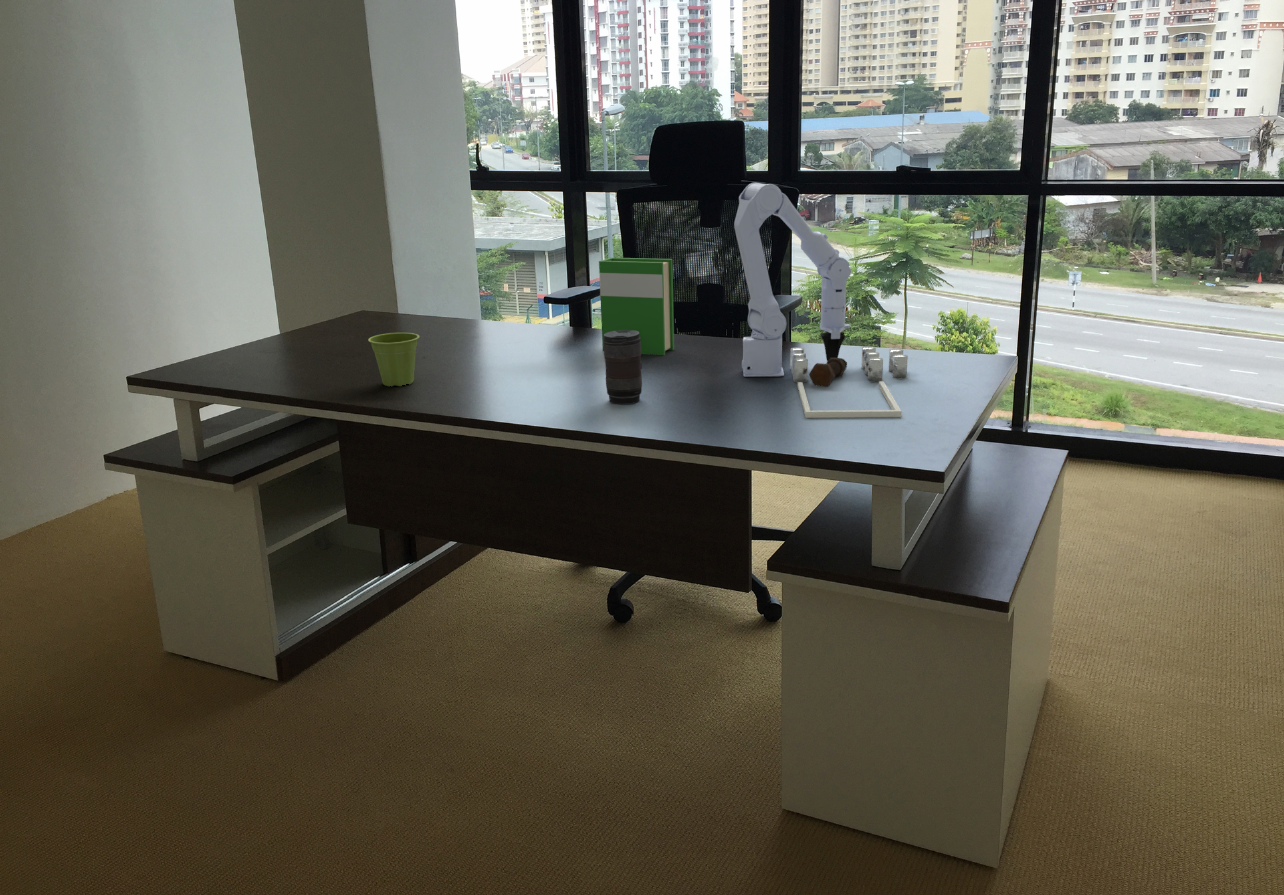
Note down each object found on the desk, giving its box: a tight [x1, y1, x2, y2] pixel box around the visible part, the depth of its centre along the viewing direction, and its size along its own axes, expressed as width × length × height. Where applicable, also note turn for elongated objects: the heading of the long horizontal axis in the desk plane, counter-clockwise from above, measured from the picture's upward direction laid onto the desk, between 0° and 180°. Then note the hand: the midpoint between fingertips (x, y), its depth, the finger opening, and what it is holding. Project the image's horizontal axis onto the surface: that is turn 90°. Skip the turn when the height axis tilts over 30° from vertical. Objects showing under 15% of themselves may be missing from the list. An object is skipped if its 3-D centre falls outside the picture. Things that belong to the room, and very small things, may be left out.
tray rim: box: [797, 380, 902, 419], centre depth 218 cm, size 19×25×1 cm
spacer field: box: [789, 346, 909, 384], centre depth 240 cm, size 26×15×5 cm, turn 85°
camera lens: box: [603, 330, 643, 405], centre depth 222 cm, size 8×8×15 cm
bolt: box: [808, 357, 848, 387], centre depth 237 cm, size 6×5×15 cm
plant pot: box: [368, 332, 420, 387], centre depth 244 cm, size 12×12×11 cm
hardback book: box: [598, 257, 675, 356], centre depth 270 cm, size 18×7×24 cm, turn 67°
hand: (831, 362), depth 249 cm, fingers closed
